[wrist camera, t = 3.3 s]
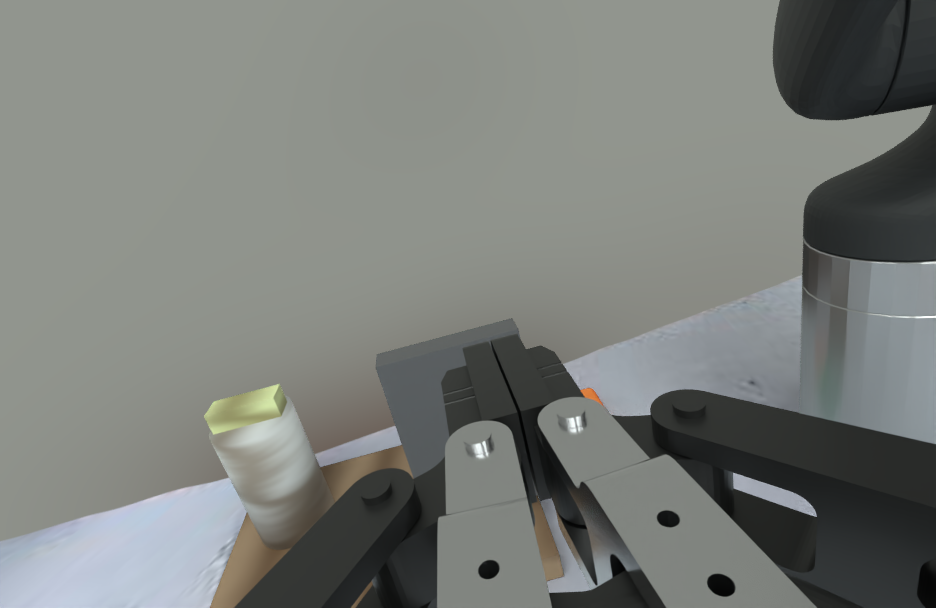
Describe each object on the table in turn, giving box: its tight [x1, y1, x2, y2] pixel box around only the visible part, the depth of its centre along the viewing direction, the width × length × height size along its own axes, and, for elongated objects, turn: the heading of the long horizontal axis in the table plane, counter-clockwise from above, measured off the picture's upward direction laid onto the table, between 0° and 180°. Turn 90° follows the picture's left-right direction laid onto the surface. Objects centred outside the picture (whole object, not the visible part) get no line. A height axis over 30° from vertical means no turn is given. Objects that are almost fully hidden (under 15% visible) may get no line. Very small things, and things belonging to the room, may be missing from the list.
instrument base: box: [204, 384, 564, 608], centre depth 37 cm, size 24×16×14 cm, turn 97°
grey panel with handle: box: [376, 318, 538, 496], centre depth 33 cm, size 16×5×14 cm, turn 98°
